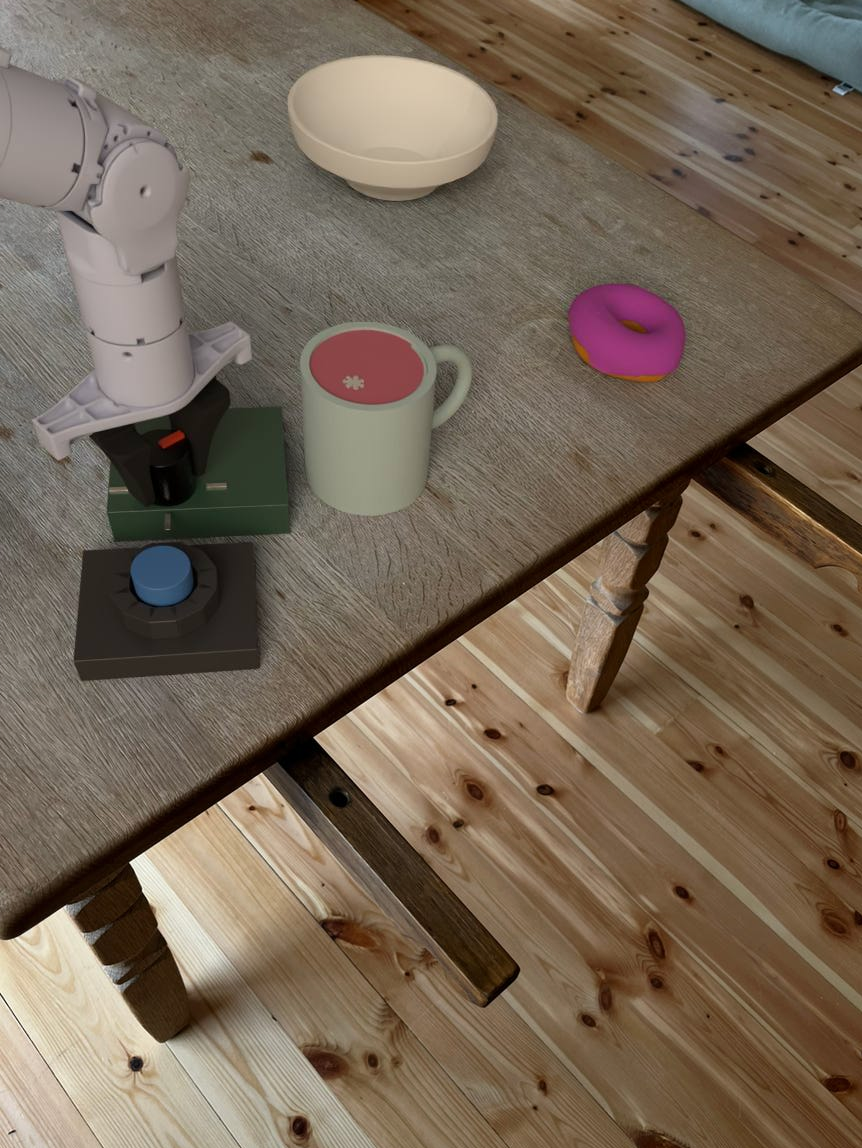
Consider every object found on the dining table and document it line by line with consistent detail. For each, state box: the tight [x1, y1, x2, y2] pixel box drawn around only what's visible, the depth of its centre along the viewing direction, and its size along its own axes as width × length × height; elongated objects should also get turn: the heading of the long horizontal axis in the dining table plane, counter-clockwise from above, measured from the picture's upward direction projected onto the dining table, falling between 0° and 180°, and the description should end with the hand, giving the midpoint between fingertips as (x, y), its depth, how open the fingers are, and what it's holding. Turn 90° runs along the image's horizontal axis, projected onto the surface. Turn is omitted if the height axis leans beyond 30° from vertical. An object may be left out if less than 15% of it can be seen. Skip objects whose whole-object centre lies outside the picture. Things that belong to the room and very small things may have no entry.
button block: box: [73, 541, 260, 682], centre depth 67 cm, size 11×9×4 cm
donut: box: [567, 282, 687, 383], centre depth 88 cm, size 10×10×5 cm
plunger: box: [131, 545, 194, 606], centre depth 65 cm, size 4×4×2 cm
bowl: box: [286, 54, 499, 202], centre depth 100 cm, size 20×20×7 cm
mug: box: [299, 321, 473, 517], centre depth 75 cm, size 14×9×10 cm
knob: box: [142, 429, 195, 507], centre depth 70 cm, size 4×4×4 cm
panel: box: [106, 406, 291, 543], centre depth 74 cm, size 12×12×3 cm
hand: (167, 482), depth 71 cm, fingers closed on knob, 3 cm apart
